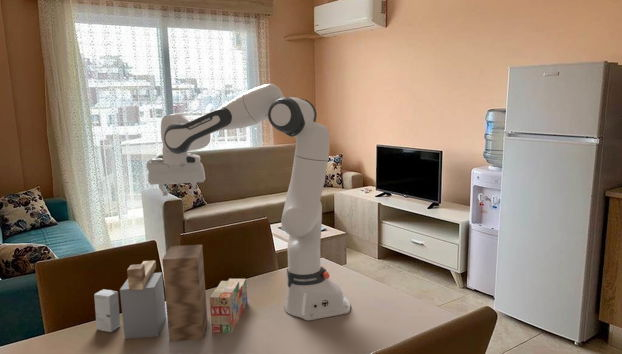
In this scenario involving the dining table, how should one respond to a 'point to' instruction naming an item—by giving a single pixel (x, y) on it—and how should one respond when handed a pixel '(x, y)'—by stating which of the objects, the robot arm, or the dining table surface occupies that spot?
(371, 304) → the dining table surface
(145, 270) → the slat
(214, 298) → the stack of blocks
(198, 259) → the tall stand
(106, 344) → the dining table surface
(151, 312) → the pale grey upright box
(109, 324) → the skincare box
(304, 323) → the dining table surface
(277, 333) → the dining table surface
